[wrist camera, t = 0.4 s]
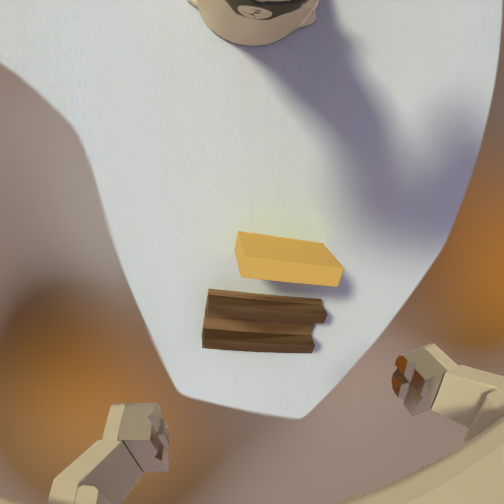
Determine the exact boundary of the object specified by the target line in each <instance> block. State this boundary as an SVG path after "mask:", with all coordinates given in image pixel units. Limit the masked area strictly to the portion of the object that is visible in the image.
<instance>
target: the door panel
mask: <svg viewBox="0 0 504 504" xmlns="http://www.w3.org/2000/svg"><path fill="white" fill-rule="evenodd" d="M235 253H236V258H237V262H238V266H239V271H240V275H241V277H244V278H253V279H263V280H272V281H282V282H292V283H302V284H312V285H323V286H334V287H338V284H339V281H340V278H341V275H342V273H343V270H344V268H343V266H342V265H341V264H340V263H339V262H338V261H337V259H336V258H335V257H334V256H333V255H332V254H331V253H330V251H329V250H328V249H327V248H326V247H325V246H324V245H323V243H317V242H310V241H303V240H297V239H290V238H283V237H276V236H269V235H262V234H255V233H248V232H240V231H238V234H237V239H236V244H235Z"/></svg>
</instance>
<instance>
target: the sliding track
mask: <svg viewBox="0 0 504 504" xmlns="http://www.w3.org/2000/svg"><path fill="white" fill-rule="evenodd" d="M326 316H327V313H326V311H325V309H324V308H323V306H322V300H321V299H312V298H299V297H287V296H276V295H265V294H254V293H244V292H234V291H225V290H215V289H209V290H208V296H207V303H206V310H205V317H204V324H203V331H202V348H208V349H220V350H235V351H252V352H276V353H312V351H313V349H314V346H315V344H314V342H313V340H312V338H311V332H312V329H313V327H314V324H315V323H324V321H325V319H326Z"/></svg>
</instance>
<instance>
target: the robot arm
mask: <svg viewBox="0 0 504 504" xmlns="http://www.w3.org/2000/svg"><path fill="white" fill-rule="evenodd" d="M187 1H188V2H190V3H191V4H192V5H193V6H195V7H196V8H197V9H198V10H199V11H200V13H201V15H202V17H203V20H204V21H205V23H206V24H207V26H208V27H209V28H210V29H211V30H212V31H213V32H214V33H216V34H217V35H218V36H220V37H222V38H223V39H225V40H228V41H230V42H233V43H236V44H241V45H248V46H259V45H266V44H270V43H273V42H276V41H278V40H280V39H282V38H284V37H285V36H287V35H288V34H289V33H290V32H292V31H293V30H295V29H296V28H300V27H305V26H308V25H311V24H312V23H313V22H314V21H315V19H316V6H317V5H318V3H319V0H187ZM395 365H396V366H397V369H396V371H395V372H394V373H393V376H392V386H393V390H394V392H395V394H396V395H397V396H398V397H399V398H401V399H404V406H405V407H406V408H407V410H408V411H409V412H410V414H411V415H412V416H415V415H418V414H420V413H423V412H425V411H427V410H429V409H431V410H433V411H435V412H437V413H439V414H441V415H443V416H445V417H447V418H449V419H451V420H453V421H455V422H457V423H459V424H461V425H463V426H466V427H468V428H469V430H468V432H467V433H466V435H465V437H464V442H465V443H464V444H463V445H461V446H460V447H458V448H456V449H455V450H453V451H451V452H450V453H448V454H446V455H445V456H443V457H441V458H439V459H437V460H435V461H434V462H432V463H430V464H428V465H426V466H424V467H422V468H420V469H418V470H416V471H414V472H412V473H410V474H408V475H406V476H403V477H401V478H399V479H397V480H394V481H392V482H390V483H387V484H385V485H383V486H380V487H378V488H375V489H373V490H370V491H367V492H365V493H362V494H359V495H357V496H353V497H351V498H348V499H345V500H341V501H339V502H335V503H332V504H504V376H500V375H496V374H493V373H489V372H485V371H481V370H478V369H474V368H471V367H467V366H464V365H459V366H458V365H457V364H456V363H455V362H453V361H452V360H451V359H450V358H449V357H448V356H447V355H446V354H445V353H444V352H443V351H442V350H441V349H439V348H438V347H437V346H436V345H435V344H429V345H426V346H423V347H421V348H418V349H416V350H413V351H410V352H407V353H405V354H402V355H399V356H398V357H397V359H396V363H395ZM160 415H161V410H160V408H159V405H158V404H157V403H134V404H132V403H130V404H129V403H127V404H113V405H112V406H111V408H110V411H109V415H108V419H107V422H106V427H105V430H104V434H103V439H102V440H98V441H96V442H95V443H94V444H93V445H92V446H91V447H90V448H89V449H88V450H86V451H85V452H84V453H83V454H82V455H81V456H80V457H79V458H77V459H76V460H75V461H74V462H73V463H72V464H71V465H69V466H68V467H67V468H66V469H65V470H64V471H63V472H61V473H60V474H59V475H58V476H57V477H56V478H55V479H54V481H53V485H52V489H51V492H50V496H49V500H48V503H47V504H121V503H122V502H123V501H124V499H125V498H126V497H127V495H128V494H129V493H130V491H131V490H132V489H133V487H134V486H135V485H136V483H137V482H138V480H139V479H140V478H141V476H142V475H143V472H166V471H168V460H169V455H168V453H167V451H166V448H167V447H168V446H169V432H168V427H167V424H166V422H165V419H163V418H161V417H160ZM0 504H25V503H22V502H19V501H16V500H13V499H10V498H8V497H5V496H2V495H0Z"/></svg>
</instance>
